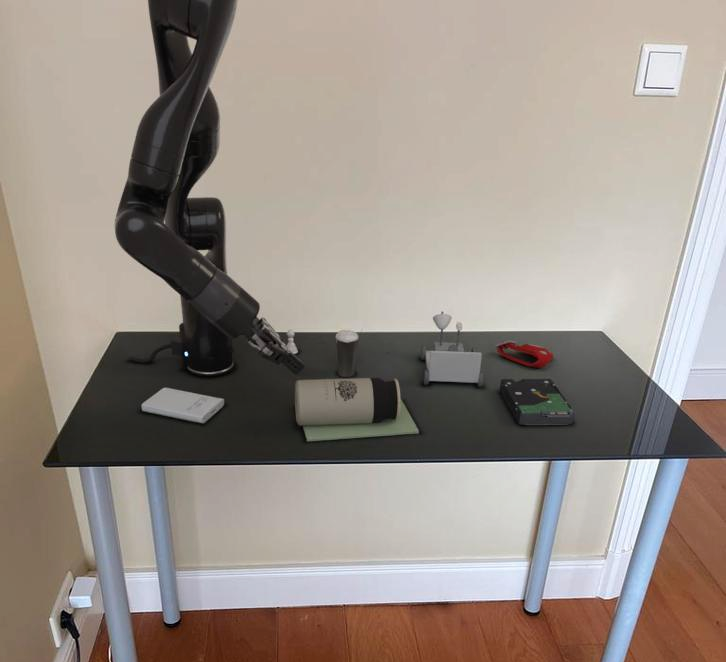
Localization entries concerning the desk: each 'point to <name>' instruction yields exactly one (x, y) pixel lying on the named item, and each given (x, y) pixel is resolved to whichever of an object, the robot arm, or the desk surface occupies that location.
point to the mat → (363, 428)
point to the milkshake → (346, 352)
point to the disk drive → (536, 402)
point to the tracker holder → (530, 349)
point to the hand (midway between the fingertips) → (300, 369)
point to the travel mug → (346, 401)
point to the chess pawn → (291, 342)
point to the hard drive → (183, 405)
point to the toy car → (451, 359)
